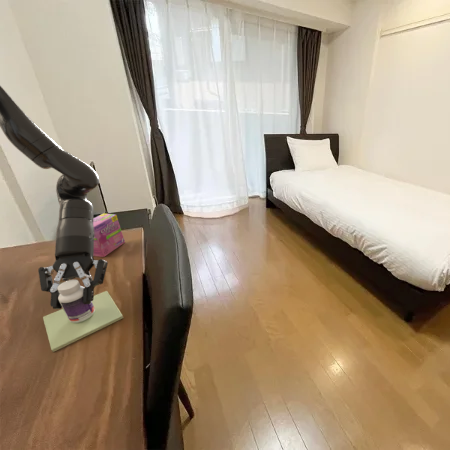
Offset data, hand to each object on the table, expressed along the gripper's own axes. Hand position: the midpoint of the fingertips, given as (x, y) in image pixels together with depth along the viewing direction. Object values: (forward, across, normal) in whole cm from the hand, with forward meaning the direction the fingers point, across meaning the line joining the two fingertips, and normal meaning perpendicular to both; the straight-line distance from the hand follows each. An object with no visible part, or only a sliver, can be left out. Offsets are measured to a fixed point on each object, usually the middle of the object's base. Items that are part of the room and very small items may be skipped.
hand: (72, 305), depth 65 cm
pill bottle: (+2, 0, +5) cm, 5 cm away
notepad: (+3, 0, +5) cm, 6 cm away
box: (-23, -5, +31) cm, 39 cm away
